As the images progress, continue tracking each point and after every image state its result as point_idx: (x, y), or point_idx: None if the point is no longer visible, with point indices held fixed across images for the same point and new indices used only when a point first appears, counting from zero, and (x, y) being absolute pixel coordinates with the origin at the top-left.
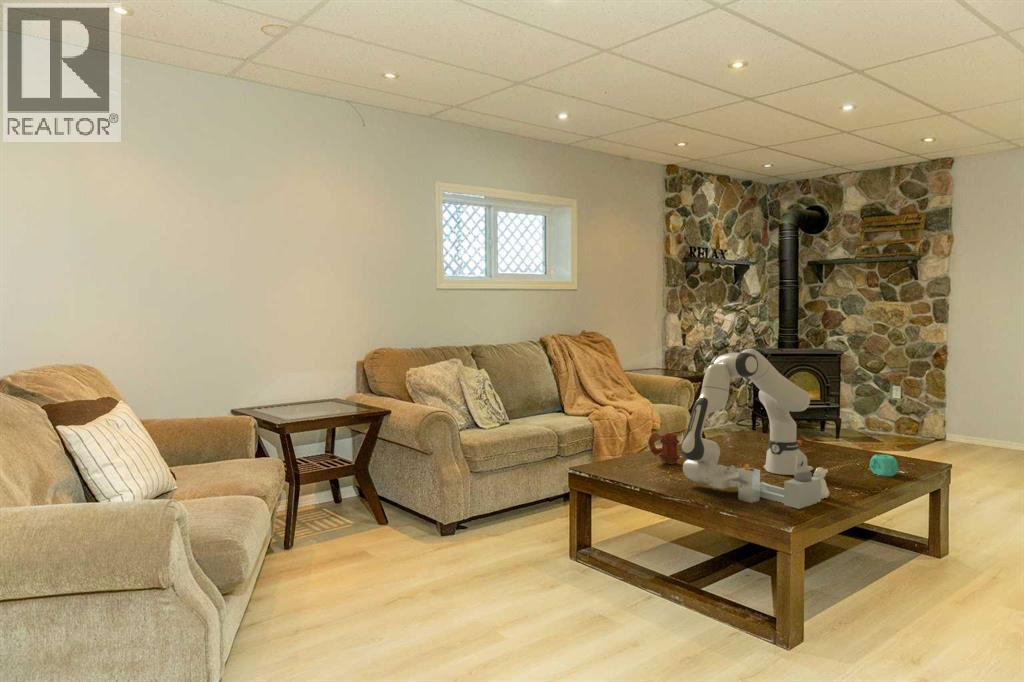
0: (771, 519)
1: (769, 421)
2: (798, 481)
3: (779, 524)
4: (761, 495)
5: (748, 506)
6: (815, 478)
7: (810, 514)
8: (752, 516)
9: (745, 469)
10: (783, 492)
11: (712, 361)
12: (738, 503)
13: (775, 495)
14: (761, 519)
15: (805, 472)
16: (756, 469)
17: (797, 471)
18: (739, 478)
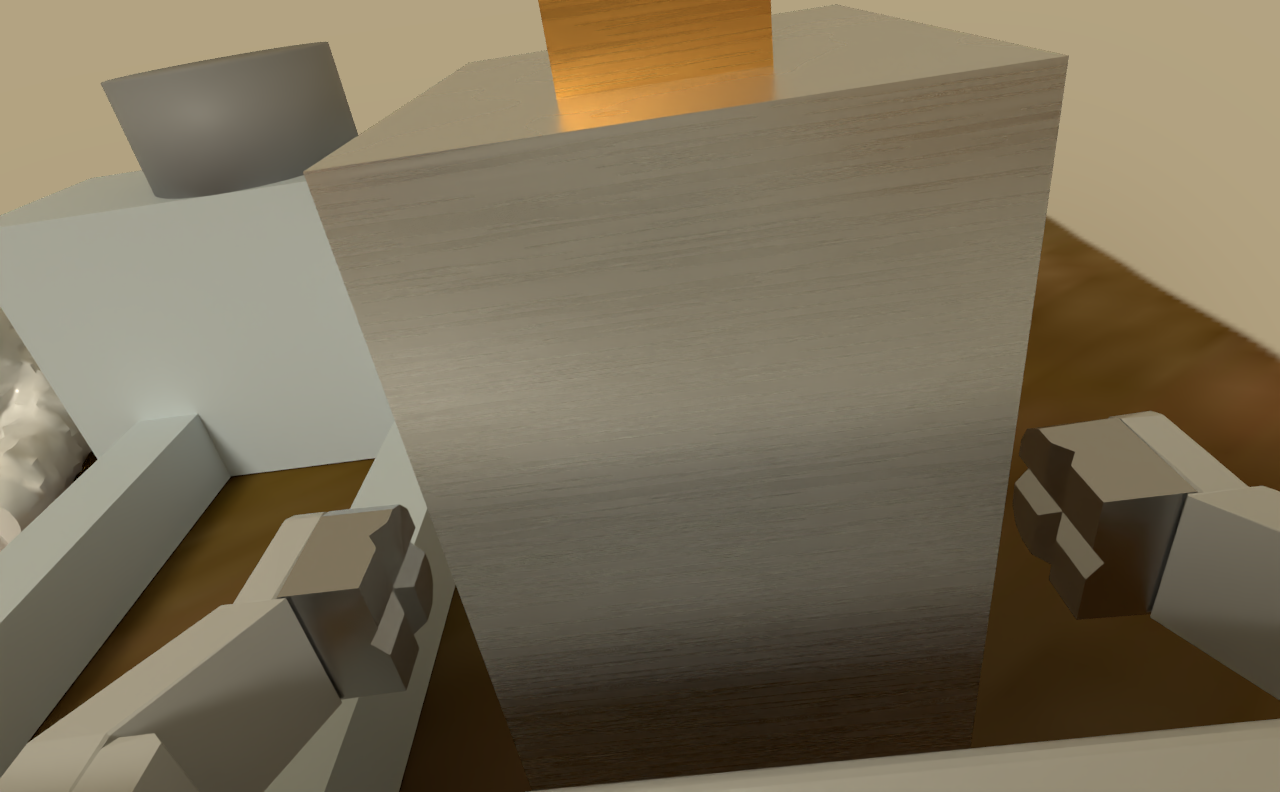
0: (1037, 280)
1: None
2: None
3: (1047, 232)
4: (398, 722)
5: (1025, 547)
6: (117, 180)
7: None
8: (1203, 342)
9: (799, 49)
10: (71, 611)
11: None
12: (1126, 725)
13: None
14: (1143, 292)
15: (225, 59)
16: (482, 70)
17: (212, 65)
18: (984, 481)
